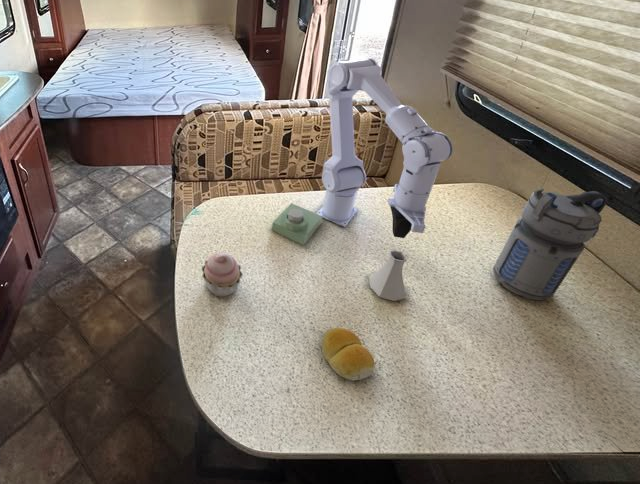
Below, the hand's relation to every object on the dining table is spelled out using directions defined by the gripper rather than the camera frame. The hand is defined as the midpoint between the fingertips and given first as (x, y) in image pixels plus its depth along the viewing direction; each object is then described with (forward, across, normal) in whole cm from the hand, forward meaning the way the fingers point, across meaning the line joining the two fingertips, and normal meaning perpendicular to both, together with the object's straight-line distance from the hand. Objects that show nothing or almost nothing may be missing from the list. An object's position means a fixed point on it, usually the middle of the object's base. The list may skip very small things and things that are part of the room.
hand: (398, 235), depth 84 cm
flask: (+9, +8, -2) cm, 12 cm away
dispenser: (+9, -9, -21) cm, 24 cm away
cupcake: (+9, +16, -38) cm, 42 cm away
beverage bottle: (+9, -1, +27) cm, 29 cm away
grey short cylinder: (+5, -7, -22) cm, 23 cm away
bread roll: (+10, +26, -13) cm, 31 cm away
